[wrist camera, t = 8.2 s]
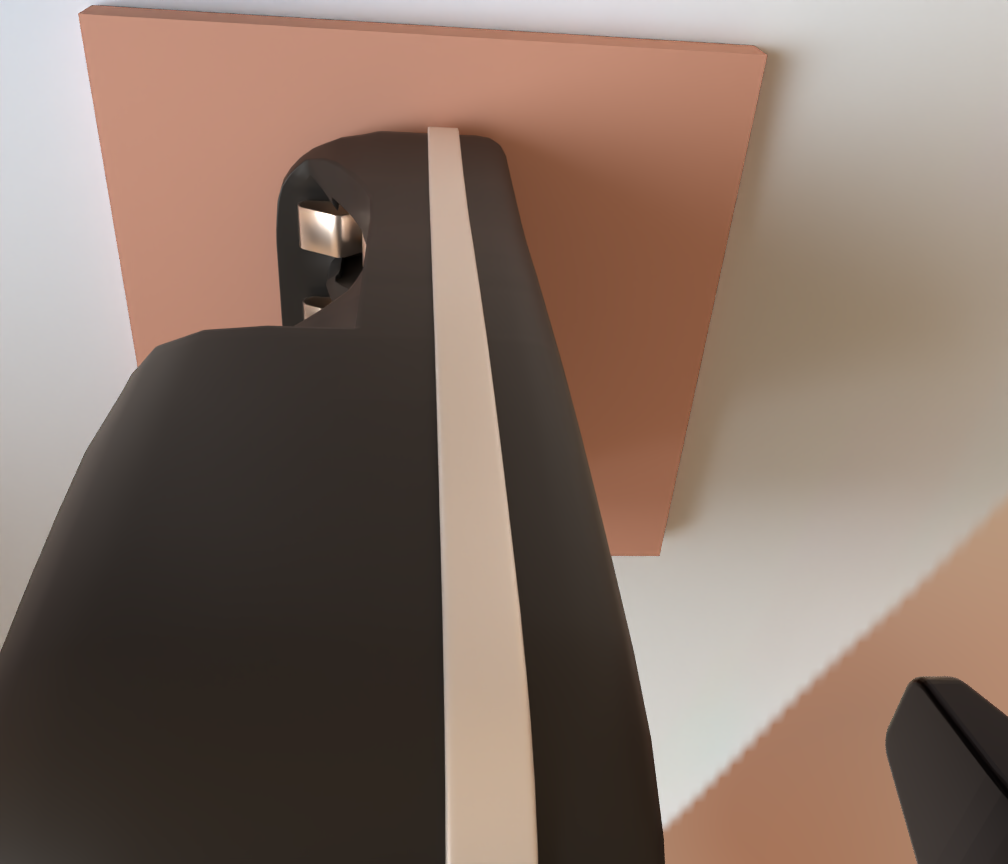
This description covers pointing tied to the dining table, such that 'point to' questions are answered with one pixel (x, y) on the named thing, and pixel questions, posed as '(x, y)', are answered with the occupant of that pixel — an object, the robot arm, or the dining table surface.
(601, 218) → the mat
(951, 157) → the dining table surface
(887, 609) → the dining table surface
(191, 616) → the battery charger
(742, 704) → the dining table surface
